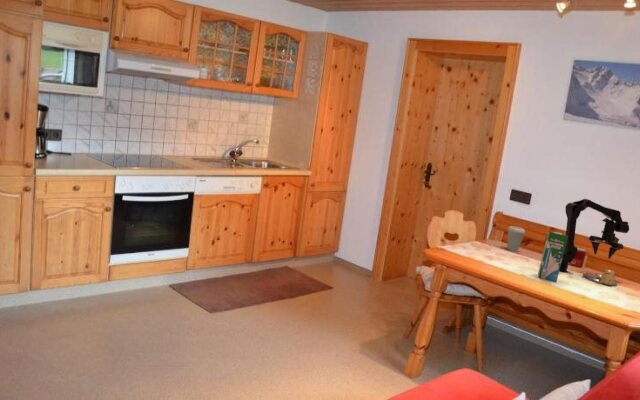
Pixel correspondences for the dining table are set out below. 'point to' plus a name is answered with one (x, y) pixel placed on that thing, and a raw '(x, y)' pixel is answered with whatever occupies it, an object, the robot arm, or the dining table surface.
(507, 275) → the dining table surface
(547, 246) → the milk carton
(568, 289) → the dining table surface
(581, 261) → the canned food
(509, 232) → the disposable coffee cup
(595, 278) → the carrier
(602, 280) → the tan rounded lump
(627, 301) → the dining table surface
